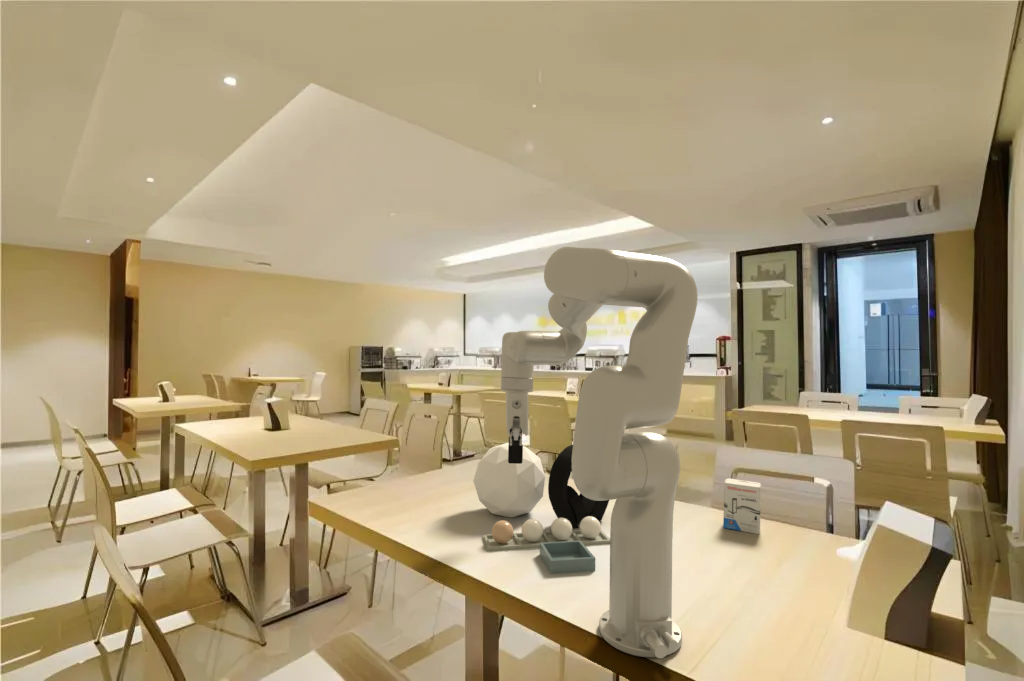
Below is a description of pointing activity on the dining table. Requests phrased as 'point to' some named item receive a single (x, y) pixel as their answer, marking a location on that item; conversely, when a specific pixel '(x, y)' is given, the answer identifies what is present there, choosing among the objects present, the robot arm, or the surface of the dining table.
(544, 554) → the dish
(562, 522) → the white egg
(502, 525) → the brown egg
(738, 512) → the ink box
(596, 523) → the white egg
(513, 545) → the carton
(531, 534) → the white egg
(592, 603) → the dining table surface
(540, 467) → the polyhedron
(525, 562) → the dining table surface
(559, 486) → the headphones
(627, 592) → the robot arm
